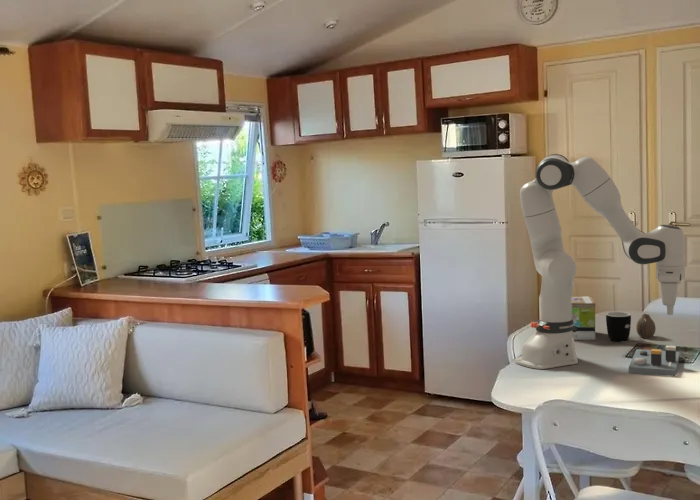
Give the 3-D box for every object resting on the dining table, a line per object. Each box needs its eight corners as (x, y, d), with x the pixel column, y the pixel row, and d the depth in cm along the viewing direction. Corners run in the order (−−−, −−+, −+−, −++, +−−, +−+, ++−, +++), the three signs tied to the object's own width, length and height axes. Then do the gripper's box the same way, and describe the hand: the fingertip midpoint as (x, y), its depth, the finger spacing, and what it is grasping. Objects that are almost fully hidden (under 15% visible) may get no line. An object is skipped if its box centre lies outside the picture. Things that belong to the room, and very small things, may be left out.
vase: (658, 338, 290) (658, 316, 289) (640, 339, 290) (640, 316, 289) (651, 334, 297) (651, 312, 296) (633, 335, 297) (633, 313, 296)
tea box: (596, 340, 292) (595, 302, 291) (569, 340, 294) (568, 302, 293) (591, 331, 307) (591, 295, 305) (566, 331, 309) (565, 295, 307)
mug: (626, 344, 284) (626, 317, 283) (603, 341, 290) (602, 315, 289) (636, 337, 294) (636, 311, 293) (613, 334, 299) (613, 309, 298)
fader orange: (661, 364, 246) (660, 351, 246) (651, 364, 248) (651, 350, 247) (661, 362, 249) (661, 349, 248) (651, 362, 250) (651, 348, 249)
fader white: (675, 361, 250) (675, 347, 249) (665, 360, 251) (665, 347, 251) (675, 359, 252) (675, 345, 252) (666, 358, 254) (666, 345, 253)
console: (675, 376, 241) (675, 365, 241) (628, 373, 248) (628, 362, 247) (679, 357, 263) (679, 347, 262) (636, 354, 269) (636, 345, 269)
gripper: (662, 268, 264) (662, 307, 266) (658, 277, 246) (658, 319, 247) (682, 269, 261) (681, 308, 263) (679, 278, 243) (679, 320, 245)
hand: (670, 314), depth 255 cm, fingers closed
